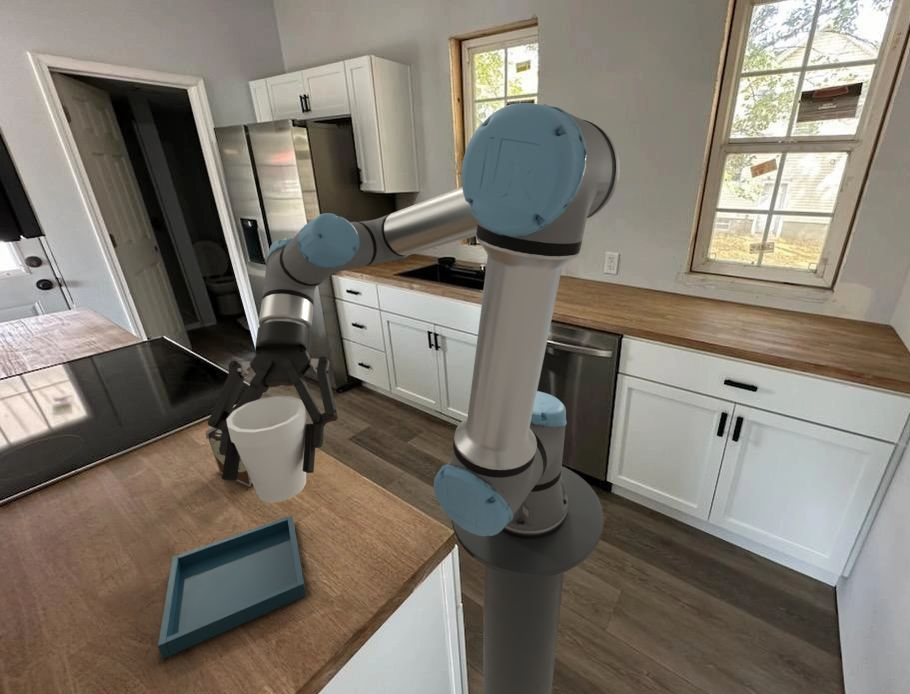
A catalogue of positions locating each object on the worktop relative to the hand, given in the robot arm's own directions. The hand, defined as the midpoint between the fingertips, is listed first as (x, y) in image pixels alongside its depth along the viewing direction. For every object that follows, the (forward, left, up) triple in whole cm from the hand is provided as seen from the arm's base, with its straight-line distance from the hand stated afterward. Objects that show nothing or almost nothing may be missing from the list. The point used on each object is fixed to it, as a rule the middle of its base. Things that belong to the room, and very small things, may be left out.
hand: (269, 475), depth 57 cm
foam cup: (-1, -3, -5) cm, 6 cm away
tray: (+7, -3, -19) cm, 20 cm away
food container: (+5, -31, -19) cm, 36 cm away
